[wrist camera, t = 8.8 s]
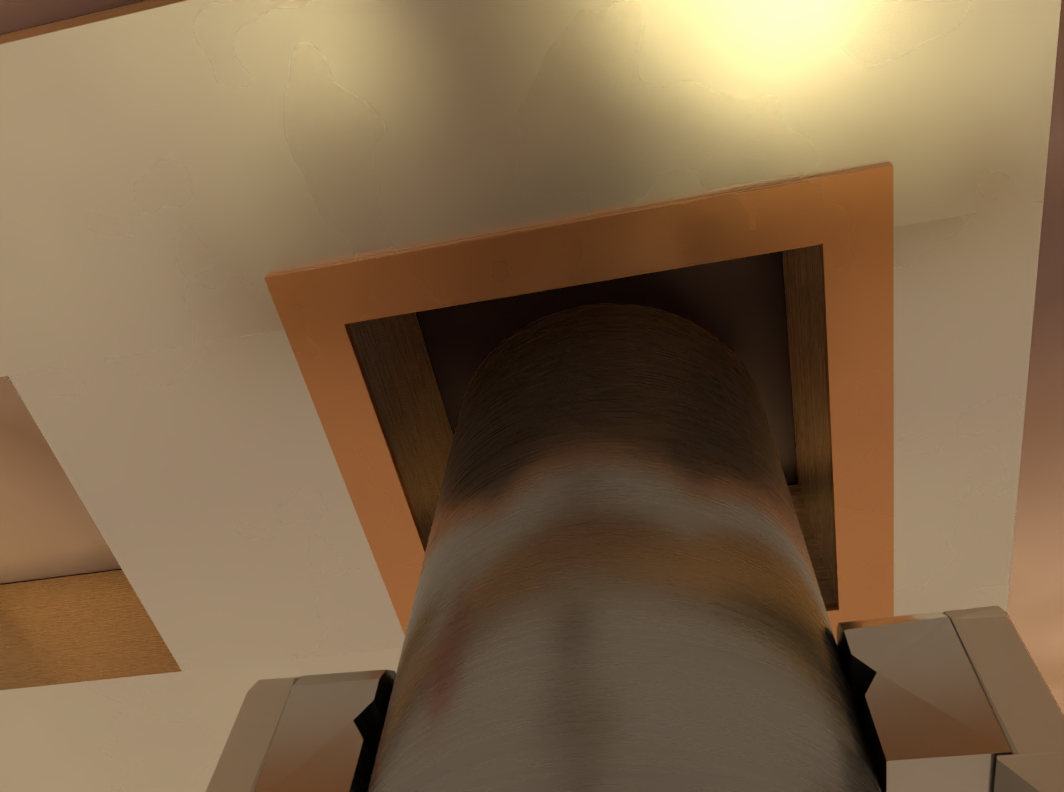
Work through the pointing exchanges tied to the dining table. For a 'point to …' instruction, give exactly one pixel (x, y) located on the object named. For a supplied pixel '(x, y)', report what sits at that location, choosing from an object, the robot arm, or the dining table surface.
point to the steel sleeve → (618, 583)
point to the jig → (466, 277)
